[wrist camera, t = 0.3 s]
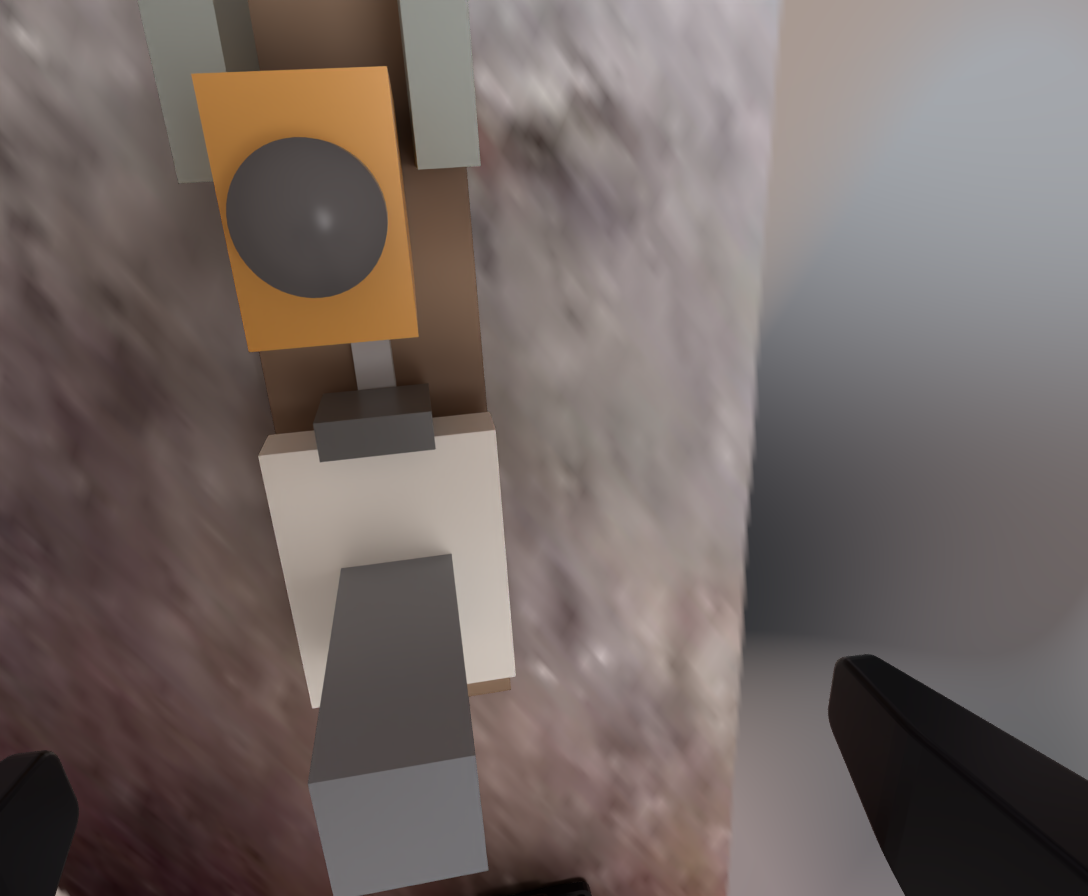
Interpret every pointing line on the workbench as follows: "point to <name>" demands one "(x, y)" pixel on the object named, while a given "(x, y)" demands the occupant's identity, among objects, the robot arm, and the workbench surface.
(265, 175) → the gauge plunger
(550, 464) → the workbench surface
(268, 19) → the rail bed
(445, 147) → the end housing
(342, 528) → the carriage
